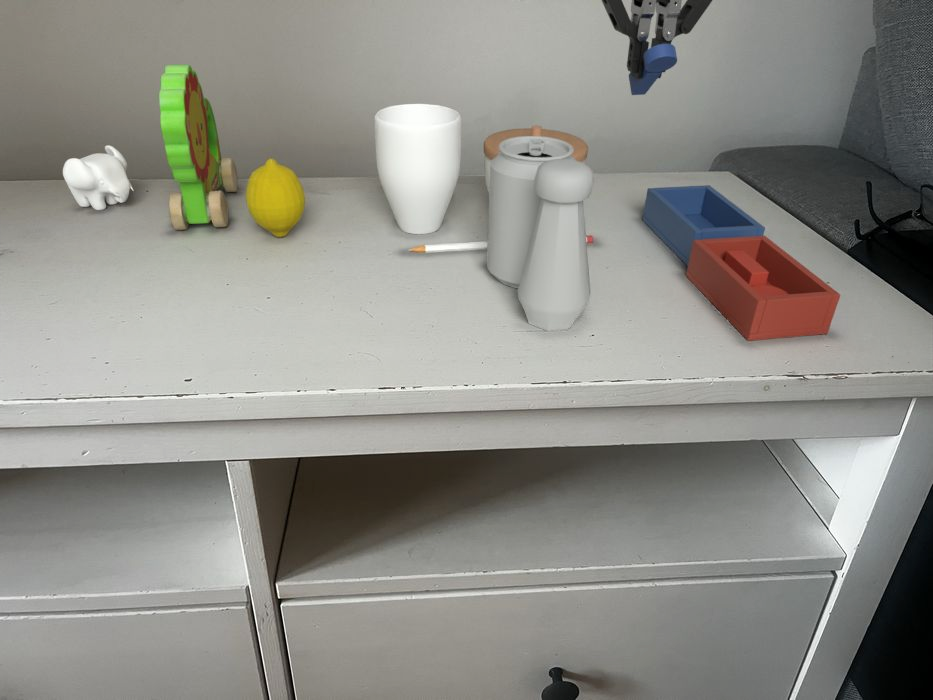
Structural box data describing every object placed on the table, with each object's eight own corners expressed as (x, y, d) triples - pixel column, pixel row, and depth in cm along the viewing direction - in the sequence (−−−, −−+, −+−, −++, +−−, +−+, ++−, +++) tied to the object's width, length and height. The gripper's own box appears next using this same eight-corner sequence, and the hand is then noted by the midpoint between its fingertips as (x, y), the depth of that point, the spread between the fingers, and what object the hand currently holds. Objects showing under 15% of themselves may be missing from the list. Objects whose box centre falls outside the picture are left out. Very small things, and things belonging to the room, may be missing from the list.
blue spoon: (624, 95, 79) (621, 75, 79) (652, 94, 80) (648, 74, 80) (652, 57, 71) (648, 34, 72) (682, 55, 72) (678, 33, 72)
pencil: (593, 244, 72) (593, 237, 72) (407, 255, 69) (407, 248, 69) (590, 240, 73) (591, 234, 72) (406, 251, 70) (406, 245, 69)
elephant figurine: (108, 222, 74) (93, 166, 71) (49, 210, 76) (32, 155, 73) (155, 200, 79) (143, 147, 76) (98, 189, 82) (84, 137, 78)
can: (480, 289, 63) (484, 155, 57) (491, 253, 70) (497, 128, 63) (566, 297, 62) (580, 161, 56) (569, 260, 69) (583, 134, 62)
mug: (462, 242, 72) (464, 126, 65) (378, 243, 71) (372, 126, 65) (455, 198, 82) (456, 94, 75) (381, 198, 81) (376, 94, 75)
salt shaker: (595, 311, 61) (615, 158, 53) (574, 343, 56) (593, 182, 49) (530, 295, 63) (541, 147, 55) (505, 326, 58) (514, 169, 51)
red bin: (755, 270, 67) (764, 235, 66) (827, 334, 58) (840, 294, 56) (685, 275, 66) (693, 239, 64) (747, 340, 57) (758, 301, 55)
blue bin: (702, 216, 78) (709, 185, 76) (756, 262, 69) (765, 227, 67) (642, 220, 77) (647, 187, 75) (688, 267, 68) (695, 231, 66)
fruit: (303, 221, 75) (295, 145, 71) (313, 243, 71) (305, 163, 66) (249, 228, 73) (237, 150, 69) (255, 250, 69) (243, 169, 65)
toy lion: (193, 187, 83) (165, 46, 75) (241, 185, 84) (219, 45, 75) (166, 245, 70) (129, 81, 61) (224, 242, 70) (196, 80, 62)
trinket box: (460, 210, 78) (462, 123, 73) (530, 189, 84) (536, 107, 79) (530, 243, 72) (537, 149, 67) (600, 217, 78) (612, 129, 73)
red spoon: (712, 275, 65) (717, 251, 64) (744, 273, 66) (751, 248, 64) (757, 319, 59) (764, 293, 57) (792, 316, 59) (800, 290, 58)
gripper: (616, -117, 63) (595, 87, 73) (759, -115, 65) (721, 83, 75) (590, -117, 70) (574, 71, 79) (721, -116, 72) (690, 67, 81)
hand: (645, 76), depth 77 cm, fingers closed on blue spoon, 1 cm apart
